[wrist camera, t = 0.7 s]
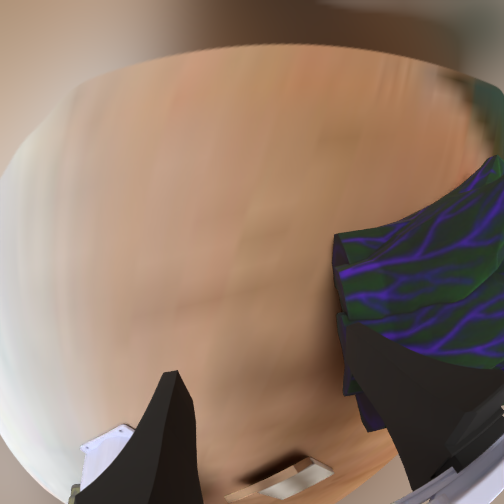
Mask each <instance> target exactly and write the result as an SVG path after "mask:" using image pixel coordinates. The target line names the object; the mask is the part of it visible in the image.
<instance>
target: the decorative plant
mask: <svg viewBox="0 0 504 504" xmlns="http://www.w3.org/2000/svg"><path fill="white" fill-rule="evenodd" d="M332 266H333V274H334V284H335V287H336V289H337V290H338V293H339V296H340V303H341V307H342V311H343V312H341V313H337V315H336V318H337V328H338V335H339V339H340V342H341V346H342V350H343V357H344V364H345V370H344V379H343V395H344V396H350V395H356V400H357V404H358V408H359V412H360V416H361V420H362V423H363V425H364V426H365V428H366V430H367V432H372V431H376V430H380V429H384V428H386V426H385V424H384V422H383V420H382V418H381V417H380V415H379V413H378V412H377V410H376V409H375V407H374V406H373V405H372V403H371V402H370V400H369V399H368V397H367V396H366V394H365V393H364V391H363V390H362V389H361V387H360V386H359V384H358V383H357V381H356V380H355V378H354V376H353V374H352V372H351V370H350V368H349V366H348V364H347V362H346V360H345V354H346V326H348V325H351V324H354V323H357V322H360V323H362V324H363V325H365V326H367V327H369V328H370V329H372V330H374V331H376V332H378V333H379V334H381V335H383V336H385V337H386V338H388V339H390V340H392V341H394V342H396V343H398V344H400V345H402V346H404V347H406V348H408V349H410V350H413V351H415V352H417V353H419V354H422V355H424V356H427V357H430V358H433V359H436V360H439V361H442V362H446V363H450V364H454V365H459V366H464V367H470V368H478V369H497V370H503V371H504V160H503V159H502V158H501V157H499V156H498V155H495V156H493V157H490V158H488V159H487V160H486V161H485V162H484V164H483V165H482V166H481V167H480V168H479V169H478V170H477V171H476V172H475V173H474V174H473V175H471V176H470V177H469V178H468V179H467V180H466V181H465V182H463V183H462V184H461V185H460V186H459V187H457V188H456V189H454V190H453V191H451V192H450V193H448V194H447V195H445V196H444V197H442V198H441V199H439V200H438V201H436V202H435V203H433V204H431V205H429V206H427V207H426V208H424V209H422V210H420V211H418V212H416V213H414V214H412V215H410V216H408V217H405V218H403V219H401V220H399V221H397V222H394V223H390V224H387V225H384V226H380V227H377V228H371V229H364V230H358V231H351V232H344V233H338V234H334V244H333V257H332ZM502 405H504V403H503V404H502Z"/></svg>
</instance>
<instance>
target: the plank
mask: <svg viewBox="0 0 504 504" xmlns="http://www.w3.org/2000/svg"><path fill="white" fill-rule="evenodd" d="M311 464H312V461H311V460H310V458H309V457H307V458H305V459H304V460H302V461H300V462H298V463H296V464H294V465H293V466H291V467H289V468H287V469H285V470H283V471H281V472H279V473H277V474H275V475H273V476H271V477H269V478H267V479H264V480H262V481H260V482H258V483H256V484H253V485H251V486H249V487H246V488H244V489H241V490H239V491H236V492H234V493H231V494H229V495H226V496H224V497H225V499H226V500H227V502H228V504H229V503H232V502H234V501H237V500H240V499H242V498H245V497H247V496H250V495H252V494H255V493H257V492H260V491H262V490H264V489H266V488H269V487H271V486H273V485H275V484H277V483H279V482H282V481H284V480H286V479H288V478H290V477H292V476H294V475H296V474H298V473H299V472H301V471H302V470H304V469H305V468H307V467H308V466H309V465H311Z"/></svg>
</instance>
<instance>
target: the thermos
mask: <svg viewBox="0 0 504 504" xmlns="http://www.w3.org/2000/svg"><path fill="white" fill-rule="evenodd" d="M80 485H81V484H75V485H73V486H72V488H71V496H70V497H69V502H68V504H74V499H75V495H77V494H78V493H79V492H80Z"/></svg>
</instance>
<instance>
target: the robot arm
mask: <svg viewBox="0 0 504 504" xmlns="http://www.w3.org/2000/svg"><path fill="white" fill-rule="evenodd" d="M345 360H346V362H347V364H348V366H349V368H350V370H351V372H352V374H353V376H354V378H355V380H356V381H357V383H358V384H359V386H360V387H361V389H362V390H363V391H364V393H365V394H366V396H367V397H368V399H369V400H370V402H371V403H372V405H373V406H374V407H375V409H376V410H377V412H378V413H379V415H380V417H381V418H382V420H383V422H384V424H385V426H386V428H387V430H388V432H389V434H390V436H391V438H392V440H393V442H394V444H395V446H396V449H397V451H398V453H399V456H400V458H401V461H402V463H403V465H404V468H405V471H406V474H407V476H408V480H409V483H410V486H411V489H412V490H413V492H412V493H410V494H408V495H407V496H405V497H403V498H401V499H399V500H397V501H395V502H393V503H391V504H422V503H423V502H425V501H427V500H428V499H430V500H429V503H428V504H489V503H490V502H492V501H493V500H494V498H496V497H497V496H498V494H500V493H501V492H502V490H503V489H504V417H503V416H502V415H503V414H504V410H503V409H502V408H501V406H502V404H503V403H504V371H503V370H497V369H478V368H470V367H464V366H459V365H454V364H450V363H446V362H442V361H439V360H436V359H433V358H430V357H427V356H424V355H422V354H419V353H417V352H415V351H413V350H410V349H408V348H406V347H404V346H402V345H400V344H398V343H396V342H394V341H392V340H390V339H388V338H386V337H385V336H383V335H381V334H379V333H378V332H376V331H374V330H372V329H370V328H369V327H367V326H365V325H363V324H362V323H360V322H357V323H354V324H351V325H348V326H346V354H345ZM80 449H81V450H82V451H83V452H85V453H86V455H85V460H84V466H83V472H82V478H81V485H80V492H79V493H78V494H77V495H75V499H74V504H204V503H203V498H202V493H201V488H200V483H199V477H198V470H197V450H196V419H195V412H194V405H193V400H192V398H191V396H190V394H189V392H188V390H187V388H186V386H185V384H184V382H183V380H182V378H181V376H180V374H179V372H178V370H176V371H171V372H165V373H163V375H162V377H161V379H160V381H159V383H158V386H157V388H156V390H155V392H154V395H153V397H152V399H151V401H150V403H149V405H148V407H147V409H146V411H145V413H144V415H143V417H142V419H141V420H140V422H139V424H138V426H137V428H136V429H135V430H133V429H132V428H130V427H129V426H127V425H124V424H123V425H120V426H118V427H116V428H114V429H113V430H111V431H109V432H107V433H105V434H103V435H101V436H99V437H97V438H95V439H93V440H91V441H89V442H87V443H85V444H83V445H81V446H80Z"/></svg>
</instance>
